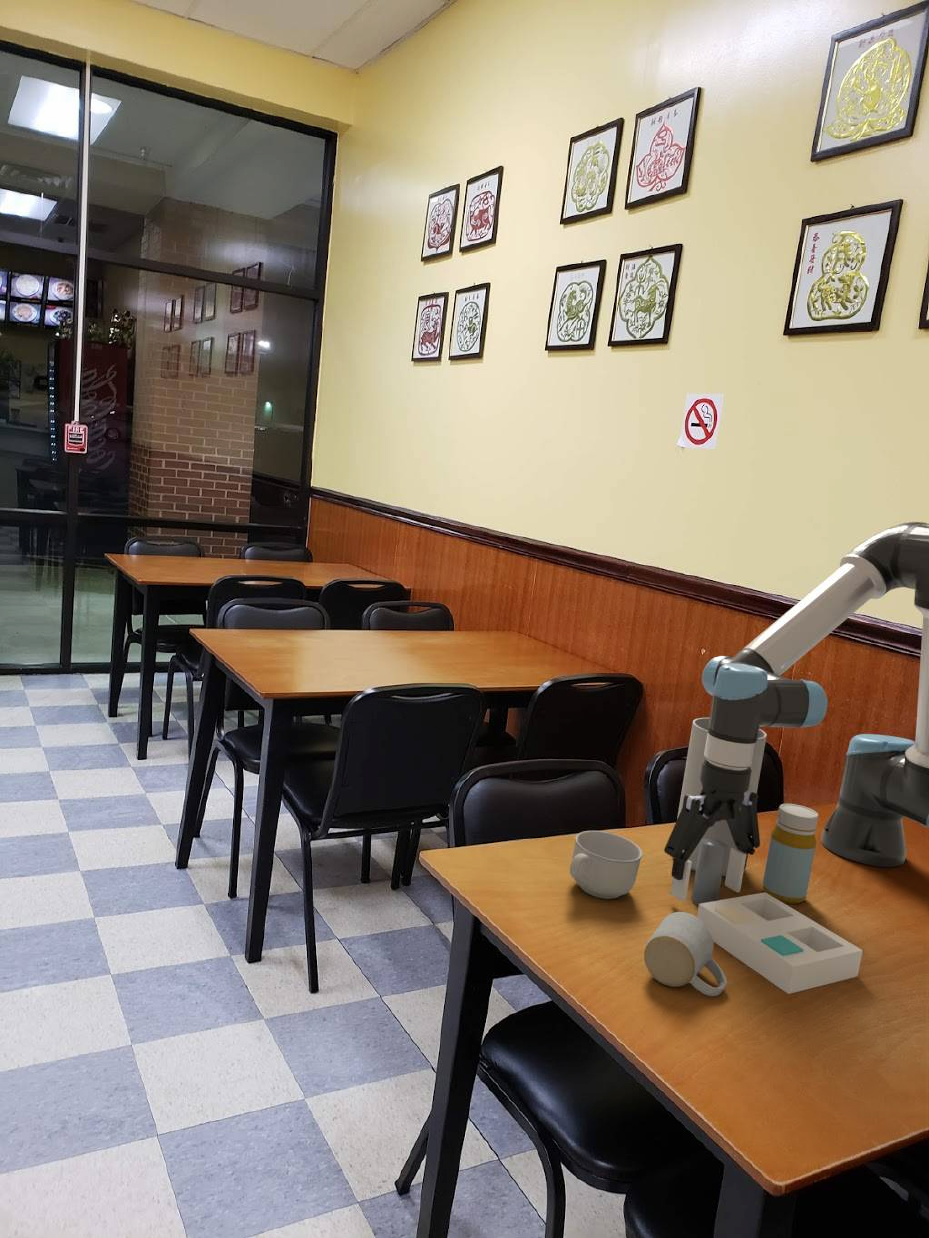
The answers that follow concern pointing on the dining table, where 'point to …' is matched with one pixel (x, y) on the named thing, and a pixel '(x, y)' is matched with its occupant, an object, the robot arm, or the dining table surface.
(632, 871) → the teacup
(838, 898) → the dining table surface
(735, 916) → the socket block
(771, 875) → the bottle
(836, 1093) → the dining table surface
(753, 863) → the dining table surface
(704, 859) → the plug
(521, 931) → the dining table surface
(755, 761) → the cylinder vase
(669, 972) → the ceramic mug
